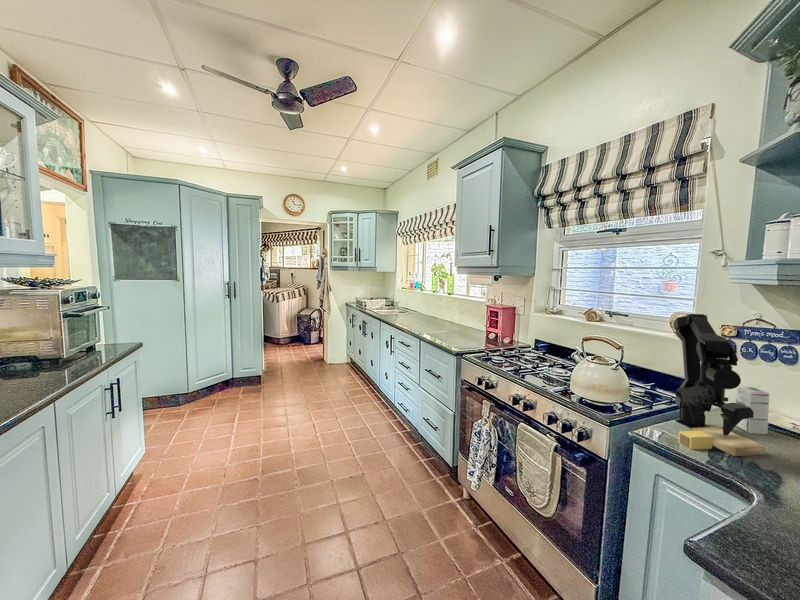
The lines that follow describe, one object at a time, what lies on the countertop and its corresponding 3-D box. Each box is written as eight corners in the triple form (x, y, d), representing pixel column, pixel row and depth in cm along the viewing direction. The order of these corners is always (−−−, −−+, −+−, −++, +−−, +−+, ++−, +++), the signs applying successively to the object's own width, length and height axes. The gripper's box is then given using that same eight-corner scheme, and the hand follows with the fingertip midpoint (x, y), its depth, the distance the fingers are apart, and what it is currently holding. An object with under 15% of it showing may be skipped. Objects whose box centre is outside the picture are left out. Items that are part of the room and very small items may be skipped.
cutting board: (691, 435, 108) (691, 427, 108) (718, 433, 109) (718, 426, 109) (734, 456, 95) (735, 448, 95) (764, 454, 96) (765, 446, 96)
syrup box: (768, 434, 108) (771, 392, 107) (747, 433, 109) (750, 391, 109) (753, 427, 114) (756, 387, 113) (733, 425, 115) (736, 386, 114)
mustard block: (699, 442, 104) (677, 443, 103) (699, 430, 103) (678, 431, 103) (711, 449, 100) (689, 449, 99) (712, 436, 99) (690, 437, 99)
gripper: (661, 371, 109) (659, 416, 110) (721, 390, 90) (717, 444, 91) (692, 370, 110) (689, 415, 111) (756, 389, 91) (753, 442, 92)
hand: (709, 428), depth 101 cm, fingers open, 9 cm apart
